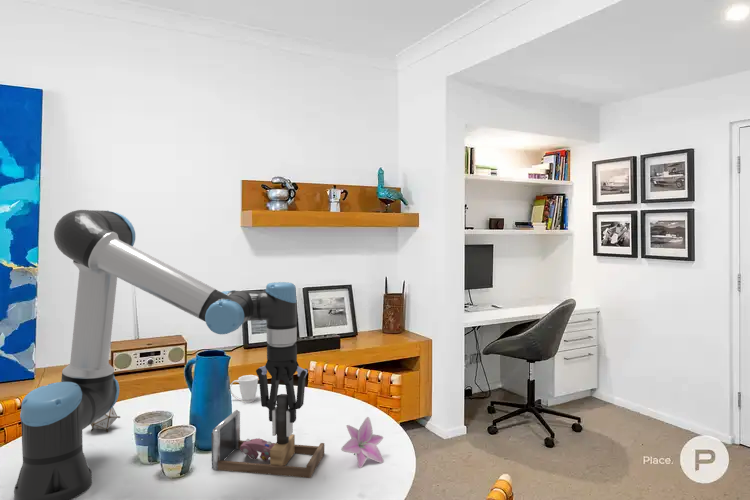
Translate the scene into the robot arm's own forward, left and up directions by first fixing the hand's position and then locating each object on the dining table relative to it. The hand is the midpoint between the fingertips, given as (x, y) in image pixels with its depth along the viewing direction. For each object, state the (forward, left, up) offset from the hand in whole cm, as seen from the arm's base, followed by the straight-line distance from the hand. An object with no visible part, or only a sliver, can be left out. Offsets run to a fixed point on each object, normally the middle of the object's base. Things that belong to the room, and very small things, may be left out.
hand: (282, 433), depth 131 cm
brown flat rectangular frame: (0, +3, -8) cm, 8 cm away
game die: (+11, +60, -8) cm, 61 cm away
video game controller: (+1, +6, -8) cm, 10 cm away
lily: (+5, -20, -8) cm, 22 cm away
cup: (+42, +29, -8) cm, 52 cm away
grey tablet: (0, +16, -8) cm, 18 cm away
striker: (0, 0, -8) cm, 8 cm away
